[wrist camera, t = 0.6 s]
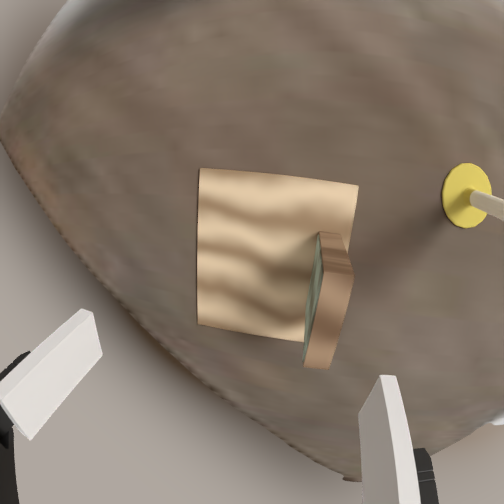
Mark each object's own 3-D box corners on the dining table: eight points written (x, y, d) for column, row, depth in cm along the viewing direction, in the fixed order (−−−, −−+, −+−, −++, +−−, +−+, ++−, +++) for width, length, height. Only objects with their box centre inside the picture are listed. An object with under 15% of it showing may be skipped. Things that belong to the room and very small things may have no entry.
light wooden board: (200, 167, 40) (200, 168, 39) (358, 185, 37) (358, 185, 36) (198, 322, 49) (197, 323, 49) (325, 343, 46) (325, 344, 46)
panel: (318, 230, 39) (322, 271, 26) (340, 233, 39) (354, 275, 26) (305, 305, 44) (301, 366, 31) (325, 308, 43) (328, 369, 30)
